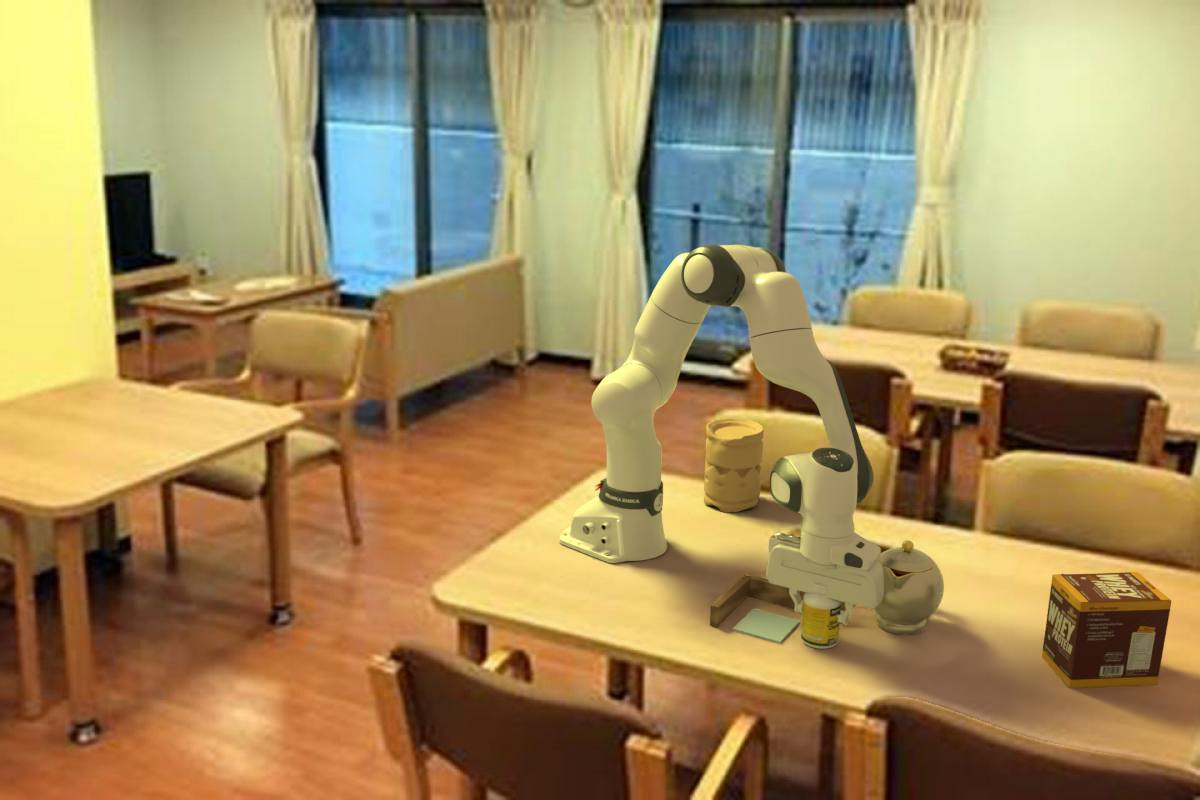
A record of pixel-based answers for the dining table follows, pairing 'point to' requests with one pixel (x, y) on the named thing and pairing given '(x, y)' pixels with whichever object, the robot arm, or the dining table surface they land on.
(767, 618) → the pad
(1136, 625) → the supplement box
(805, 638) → the pill bottle
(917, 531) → the dining table surface
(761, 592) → the wooden l-shaped wall
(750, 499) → the container
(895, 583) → the teapot
